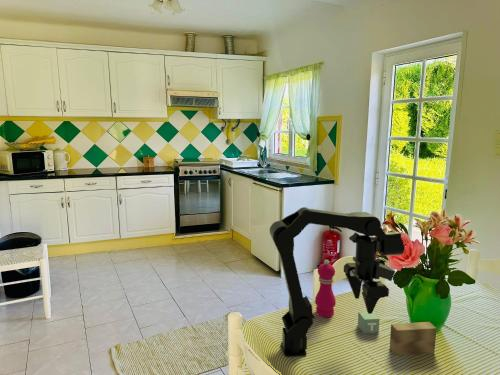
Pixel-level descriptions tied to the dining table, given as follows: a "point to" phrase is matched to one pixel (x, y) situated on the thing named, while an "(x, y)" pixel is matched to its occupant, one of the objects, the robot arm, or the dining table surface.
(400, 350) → the wooden block
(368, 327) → the letter cube
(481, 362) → the dining table surface
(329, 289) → the pepper mill
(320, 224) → the robot arm
